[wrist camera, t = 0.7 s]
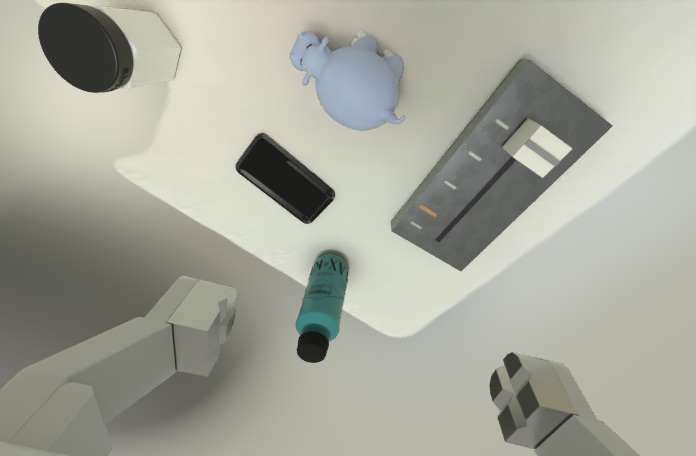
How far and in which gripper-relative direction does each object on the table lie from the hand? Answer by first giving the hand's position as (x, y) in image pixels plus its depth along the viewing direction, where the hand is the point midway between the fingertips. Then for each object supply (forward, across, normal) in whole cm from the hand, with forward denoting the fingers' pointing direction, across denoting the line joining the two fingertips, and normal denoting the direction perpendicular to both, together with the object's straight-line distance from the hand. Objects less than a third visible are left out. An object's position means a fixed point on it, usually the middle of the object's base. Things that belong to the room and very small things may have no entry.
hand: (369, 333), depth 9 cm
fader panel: (+40, -18, +7) cm, 45 cm away
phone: (+41, +11, +15) cm, 45 cm away
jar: (+41, +32, +1) cm, 51 cm away
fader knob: (+37, -20, 0) cm, 42 cm away
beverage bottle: (+40, +1, +29) cm, 50 cm away
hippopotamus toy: (+41, +4, -2) cm, 41 cm away
